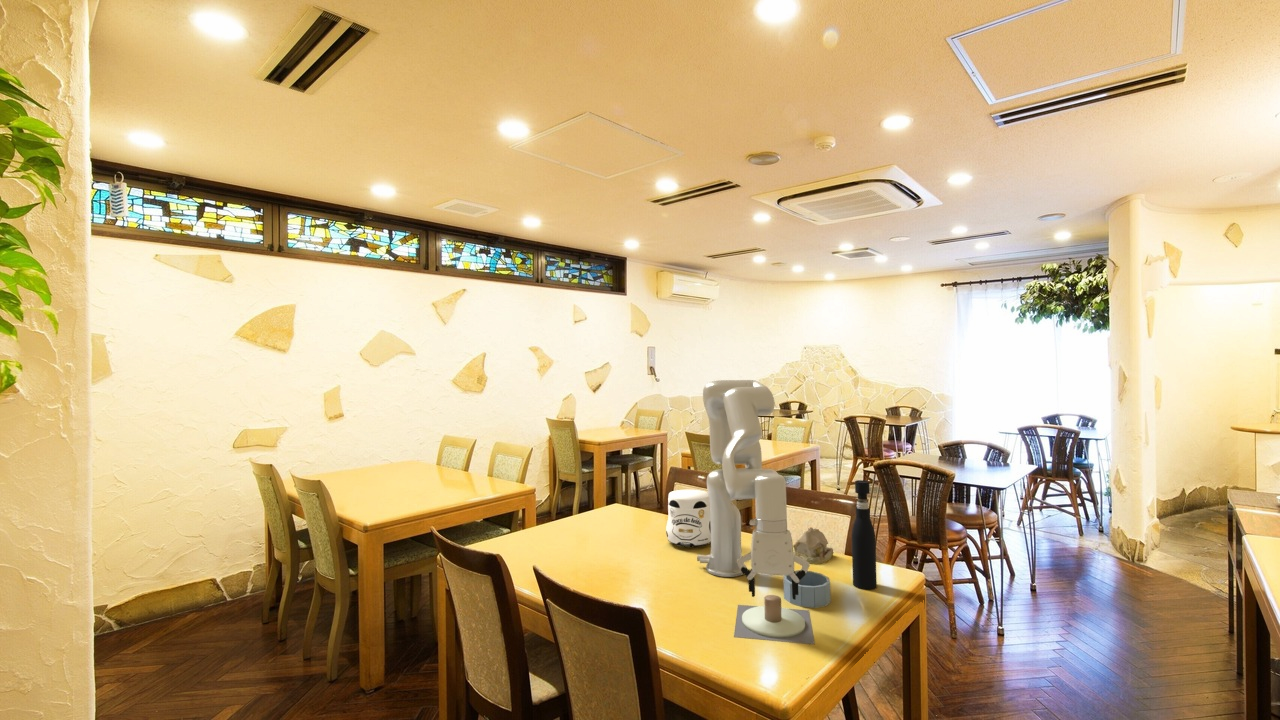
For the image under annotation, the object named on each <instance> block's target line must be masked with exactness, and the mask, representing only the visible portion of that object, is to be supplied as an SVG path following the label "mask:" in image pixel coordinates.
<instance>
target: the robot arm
mask: <svg viewBox="0 0 1280 720" xmlns="http://www.w3.org/2000/svg"><path fill="white" fill-rule="evenodd" d="M773 394H774V393H773V392H772V391H771V389H770V388H769V387H768V386H766V385H765V384H763V383H762V382H759V381H758V380H754V379H727V380H726V379H724V380H723V379H722V380H713V381H709V382H707V383H706V384H705V385H704V387H703V389H702V401H703V405H704V408H705V412H706V414H707V418H708V425H709V450H710V457H711V461H712V463H714V464H716V465H722V466H721V467H722V468H720V469H713V470H712V471H710V472H709V473H708V474H707V477H706V488H707V492H708V495H709V502H710V526H711V542H710V553H709V554H706V555H705V554H697V555H696V560H697V562H699V563H700V564H706V566H705V567H706V569H705V570H706V571H707V573H709V574H711V575H713V576H717V577H725V578H733V577H734V578H735V577H739V576H742V575H744V576H745V577H746V578H747V580H748V592H750V593H751V597H753V598H755V596H756V578H755V576H756V575H767V576H790V577H791V578H792V579H793V580H792V597H793V599H794V600H796V595H798V582H799V581H800V580H801V579H802V578H803V577H804V576H805V574H806V572H807V571H809V568H810V566H811V564H809V563H808V562H807V561H805V560H803V559H801V558H800V557H798V556H796V555H794V547H793V545H794V544H793V537H792V533H791V531H790V530H789V529H788V512H787V511H788V510H787V509H788V508H787V482H786V478H785V477H784V476H783V475H782V474H779V473H778V472H777V471H776V470H775V469H772V468H763V462H762V461H763V460H762V459H763V458H762V447H761V443H760V440H761V439H762V437H763V430H762V427H761V423H760V419H759V416H770V415H771V414H772V413H773V412H774V410H775V398H774V395H773ZM736 465H744V467H741V468H740V467H739V468H738V467H736ZM753 499H754V504H755V505H754V509H755V518H753V519H749V526H753V527H754V528H753V530H752V535H751V543H750V544H751V545H750V546H751V548H750V549H751V550H750V552H749V553H747V554H744V555H743V556H742V518H741V517H742V516H741V512H740V510H739V508H738V507H737V506H736V505H735V504H734V503H733V501H734V500H735V501H737V500H753ZM749 561H750V565H751V566H750V567H751V569H748V567H747V565H746V564H745V563H746V562H749ZM795 564H798V565H800V566H801V568H800V571H799V572H798V573H796V572H795V571H796V570H795Z"/></svg>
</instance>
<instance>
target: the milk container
mask: <svg viewBox="0 0 1280 720" xmlns="http://www.w3.org/2000/svg"><path fill="white" fill-rule="evenodd" d="M667 500H668V501H667V502H668V503H667V504H668V505H667V511H668V518H667V522H666V527H665V535H666V537H667V540H668V542H670V543H671V544H672V545H673V546H678V547H683V548H701V547H704V546H706V545H708V544H711V526H710V502H709V495H708V491H705V490H700V489H679V490H673V491H670V492H669V493H668V498H667Z"/></svg>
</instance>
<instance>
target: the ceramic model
mask: <svg viewBox="0 0 1280 720" xmlns="http://www.w3.org/2000/svg"><path fill="white" fill-rule="evenodd" d="M828 544H829V542H828V540H827V537H826V536H825V534H824V533H823V532H822V531H821V530H819V529H818V528H813V527H811V526H810V527H808V529H807V530H806V531H804V533H803V534H802V535H801V536H800V537H799V539H797V540H796V541H795V542H794V544H793V552H794V555H796V556H798V557H800V558H801V559H803V560H805V561H807V562H808V563H809V565H813V564H814V565H815V564H816V565H819V564H823V563H825V562H827V560H828V561H830V560H831V559H832V558H833V556H834V554H835V553H834V549H833V547H828Z"/></svg>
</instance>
